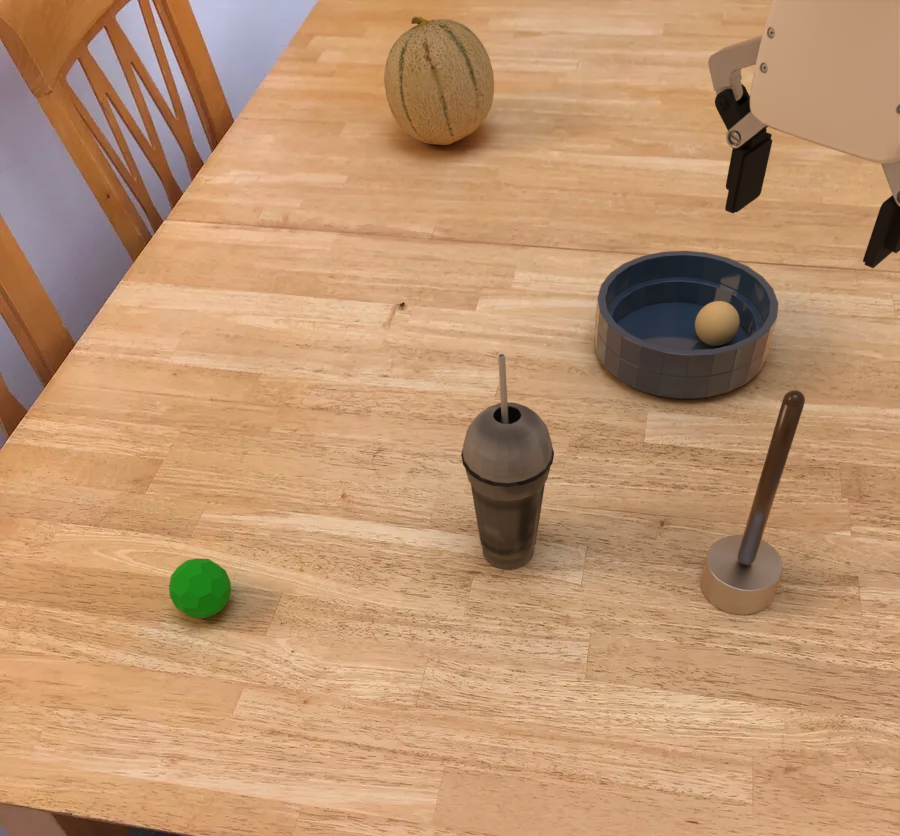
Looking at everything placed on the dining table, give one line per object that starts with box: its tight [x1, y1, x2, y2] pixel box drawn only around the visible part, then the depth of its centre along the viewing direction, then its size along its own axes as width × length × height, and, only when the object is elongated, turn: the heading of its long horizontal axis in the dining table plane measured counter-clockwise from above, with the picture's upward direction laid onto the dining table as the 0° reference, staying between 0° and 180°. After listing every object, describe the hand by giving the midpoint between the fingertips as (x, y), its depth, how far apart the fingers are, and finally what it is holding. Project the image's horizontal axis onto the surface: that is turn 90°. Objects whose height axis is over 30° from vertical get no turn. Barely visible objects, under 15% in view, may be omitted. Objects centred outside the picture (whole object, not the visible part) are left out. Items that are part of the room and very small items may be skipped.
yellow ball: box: [695, 301, 740, 346], centre depth 95 cm, size 4×4×4 cm
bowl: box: [593, 250, 779, 400], centre depth 95 cm, size 18×18×6 cm
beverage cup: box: [460, 353, 555, 571], centre depth 73 cm, size 7×7×20 cm
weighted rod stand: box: [700, 389, 806, 616], centre depth 69 cm, size 6×6×21 cm
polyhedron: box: [168, 557, 232, 619], centre depth 77 cm, size 5×5×5 cm
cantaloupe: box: [383, 16, 495, 146], centre depth 122 cm, size 15×15×15 cm
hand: (808, 229), depth 58 cm, fingers open, 9 cm apart
